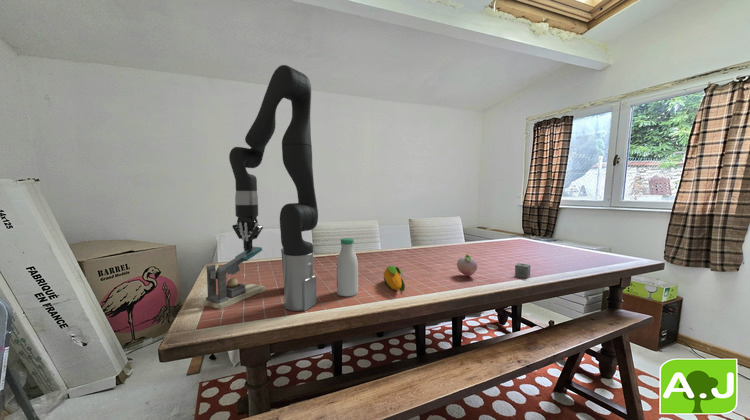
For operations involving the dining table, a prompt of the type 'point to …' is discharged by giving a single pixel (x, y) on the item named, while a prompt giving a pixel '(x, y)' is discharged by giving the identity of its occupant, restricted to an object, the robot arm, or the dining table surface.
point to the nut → (232, 283)
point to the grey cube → (522, 270)
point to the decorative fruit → (467, 265)
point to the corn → (393, 278)
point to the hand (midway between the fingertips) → (248, 250)
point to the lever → (237, 262)
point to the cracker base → (227, 290)
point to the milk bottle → (347, 269)
